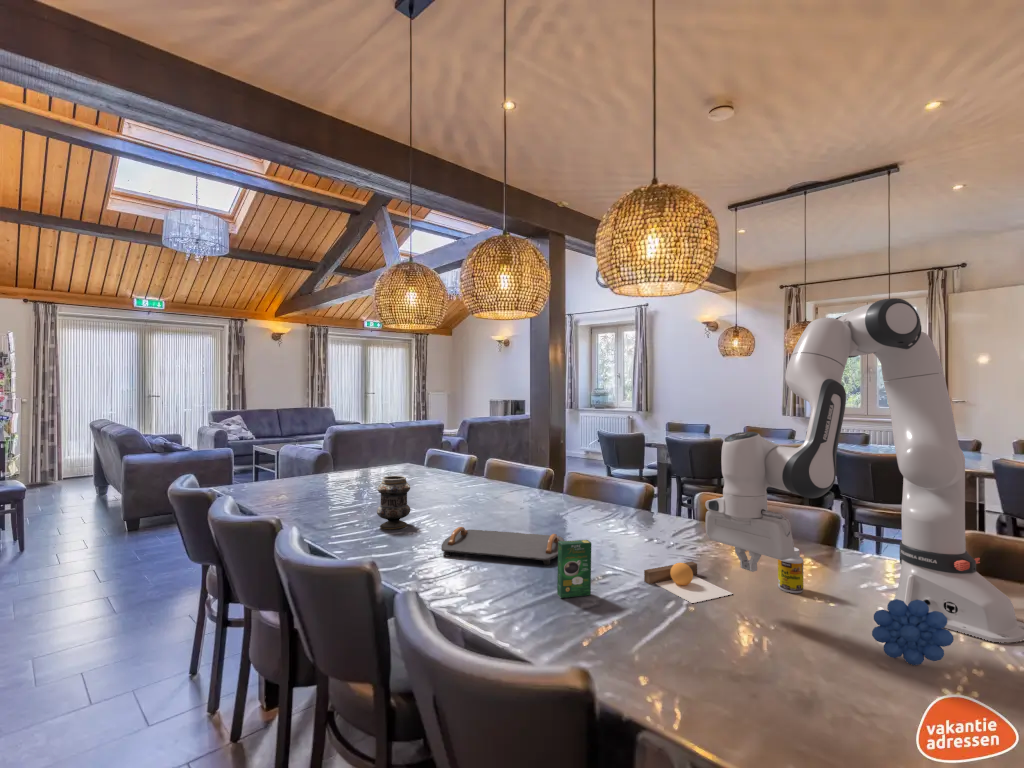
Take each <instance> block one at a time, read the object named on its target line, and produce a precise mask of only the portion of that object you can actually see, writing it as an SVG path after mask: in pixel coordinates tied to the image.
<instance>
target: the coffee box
mask: <svg viewBox="0 0 1024 768" xmlns="http://www.w3.org/2000/svg"><path fill="white" fill-rule="evenodd" d="M591 574H592V542H591V541H590V540H588V539H577V540H576V539H575V540H564V541H558V556H557V575H556V577H557V583H556V585H557V586H556V588H557V590H556V591H557V592H556V593H557V596H558V597H559V598H560V599H569V598H576V597H587V596H591V595H592V594H591V593H592V592H591V591H592V584H591V583H592V575H591Z"/></svg>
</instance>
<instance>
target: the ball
mask: <svg viewBox="0 0 1024 768" xmlns="http://www.w3.org/2000/svg"><path fill="white" fill-rule="evenodd" d="M685 563H686V562H677V563H675V564H672V565H673V566H672V568H671V571H670V574H671V578H672V580H673V581H674V582H675V583H676V584H678V585H682V586H684V585H688V584H689V583H690V582H691V581H692V579H693V572H692V569H691V568H690V567H689V566H688V565H687V564H685Z"/></svg>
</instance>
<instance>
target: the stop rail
mask: <svg viewBox="0 0 1024 768" xmlns="http://www.w3.org/2000/svg"><path fill="white" fill-rule="evenodd" d="M684 563H685V564H687V565H688V566H689V567H690V568H691V569H692V572H693V576H698V563H696V562H694V561H687V562H684ZM673 565H674V564H671V565H665V566H664V565H663V566H659V567H654V568H649V569H644V570H643V577H644V578H643V579H644V583H647V584H648V585H652V584H653V585H654V584H655V583H660V582H665V581H670V580H672V578H671V574H670V571H671V568H672V566H673Z"/></svg>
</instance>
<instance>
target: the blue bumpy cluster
mask: <svg viewBox="0 0 1024 768" xmlns="http://www.w3.org/2000/svg"><path fill="white" fill-rule="evenodd" d="M886 609H887V610H886ZM886 609H879V610H876V611H875V612H874V614H873V620H874V622H875V623H876V624H877V625H878V626H875V627H874V628H873V629H872V631H871V635H872V638H873V639H874V640H875V642H879V643H881V644H883V643H884V644H883V652H884V653H885V655H887V657H890V658H892V659H898V658H900V657H902V658H903V659H904V661H905V662H906V663H907V662H908V663H907V664H909V665H911V664H912V666H914V665H915V666H919V665H922V664H923V662H924V661H925V659H926V660H929V661H932V662H939V661H941V660H942V659H943V658H944V655H945V650H944V647H945V648H946V647H949V646H951V645H952V644H953V642H954V640H955V639H954V635H953V634H952V633H951V632H950V629H947V628H944V627H945V626H946V625H947V618H946V616H945V615H944V614H943V613H941V612H938V611H932V612H929V606H928V605H927V604H926V603H925V602H924V601H921V600H918V599H917V600H913V601H911V602H910V603H909V604H908V606H907V605H906V604H905V602H904V601H901V600H898V599H895V600H894V599H892V600H890V601H889V602H888V603H887V608H886ZM928 612H929V613H928ZM942 647H943V648H942Z"/></svg>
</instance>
